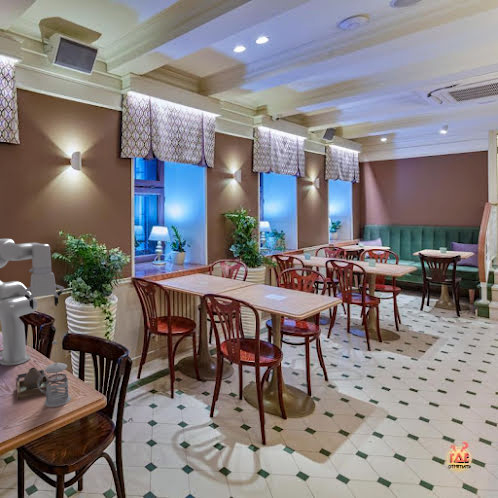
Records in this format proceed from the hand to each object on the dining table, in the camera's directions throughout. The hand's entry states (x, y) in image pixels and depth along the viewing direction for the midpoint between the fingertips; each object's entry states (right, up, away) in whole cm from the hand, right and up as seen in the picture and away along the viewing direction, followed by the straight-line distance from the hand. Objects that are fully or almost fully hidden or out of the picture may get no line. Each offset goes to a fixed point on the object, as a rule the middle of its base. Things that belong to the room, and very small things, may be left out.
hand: (44, 306), depth 176 cm
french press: (+18, -34, -26) cm, 46 cm away
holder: (+5, -33, -17) cm, 37 cm away
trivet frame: (-2, -31, -7) cm, 32 cm away
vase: (+5, -32, -17) cm, 37 cm away
